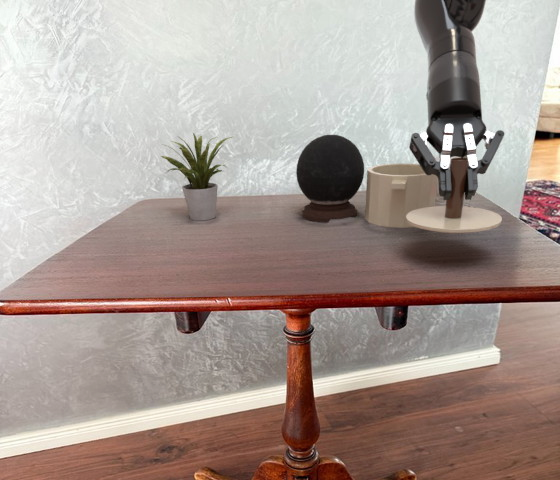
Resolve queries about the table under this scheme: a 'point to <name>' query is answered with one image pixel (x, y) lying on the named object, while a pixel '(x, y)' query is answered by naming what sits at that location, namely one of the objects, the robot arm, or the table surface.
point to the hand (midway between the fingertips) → (458, 196)
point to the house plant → (198, 179)
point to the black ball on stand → (330, 177)
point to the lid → (454, 209)
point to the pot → (397, 193)
